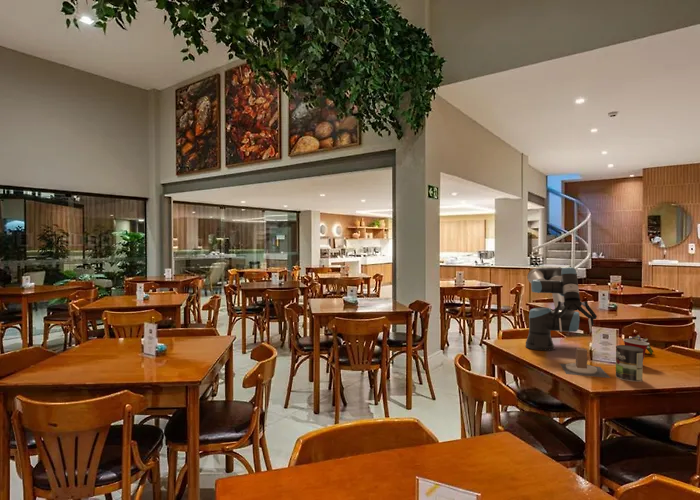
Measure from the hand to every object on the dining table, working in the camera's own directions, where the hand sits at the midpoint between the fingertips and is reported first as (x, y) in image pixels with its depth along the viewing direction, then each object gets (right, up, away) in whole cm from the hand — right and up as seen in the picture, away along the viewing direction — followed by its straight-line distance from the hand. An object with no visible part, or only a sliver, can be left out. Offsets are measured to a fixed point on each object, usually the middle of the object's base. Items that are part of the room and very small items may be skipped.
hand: (575, 331), depth 211 cm
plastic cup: (+29, -17, -2) cm, 34 cm away
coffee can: (+10, -17, -25) cm, 32 cm away
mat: (-4, -16, -14) cm, 22 cm away
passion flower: (+48, -17, +22) cm, 55 cm away
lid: (-5, -16, -14) cm, 22 cm away
